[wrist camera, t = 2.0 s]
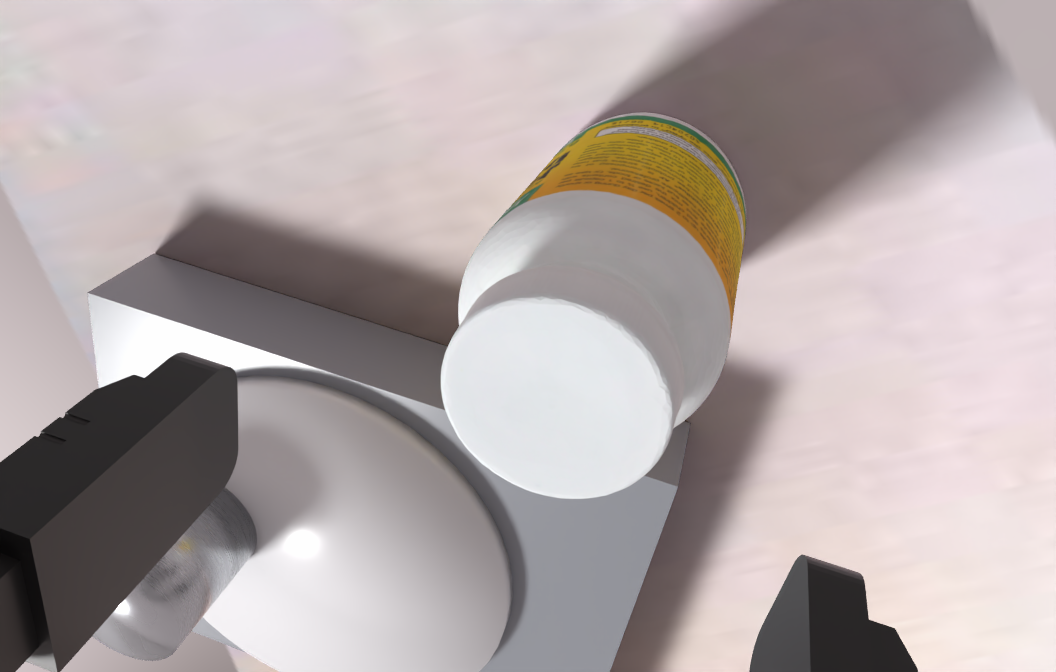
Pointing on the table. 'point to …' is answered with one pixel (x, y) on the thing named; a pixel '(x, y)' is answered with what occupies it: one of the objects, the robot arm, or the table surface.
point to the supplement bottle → (598, 309)
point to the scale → (381, 496)
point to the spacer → (183, 583)
